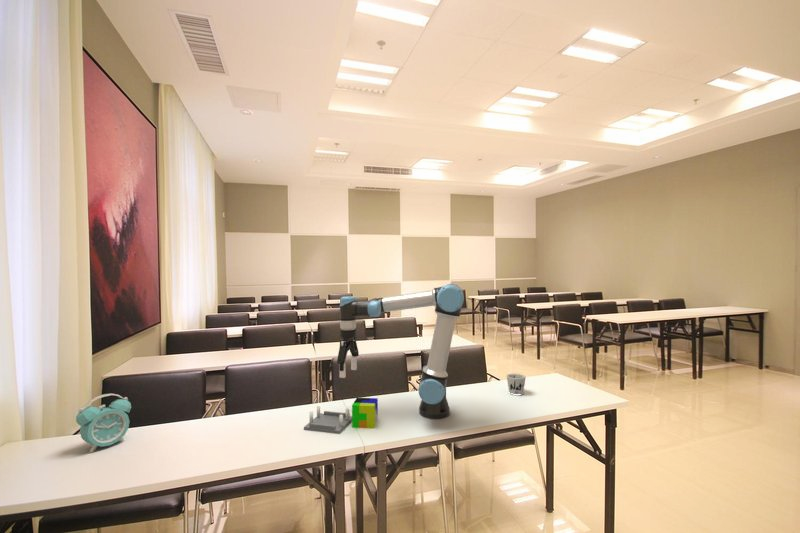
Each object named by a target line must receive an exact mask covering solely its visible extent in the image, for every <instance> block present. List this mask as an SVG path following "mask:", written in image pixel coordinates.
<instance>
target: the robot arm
mask: <svg viewBox="0 0 800 533" xmlns="http://www.w3.org/2000/svg"><path fill="white" fill-rule="evenodd" d="M464 301H465V295H464V291H463V290H462V288H461V287H459V286H458V285H457V284H454V283H448V284H445V285H443V286H439V287H433V288H432V290H427V291H421V292H419V291H418V292H412V293H406V294H397V295H391V296H384V297H378V298H377V297H374V298H372V299H368V300H357V298H356V296H352V295H351V296H342V297H340V298H339V328H340V330H339V332H340V333H339V337H340V338H341V339H342V340H341V341H339V348H338V354H337V361H336V364H338V365H339V370H338V371H339V378H340V379H344V378H347V377H346V375H347V374H346V373H347V372H346V365H347V364H346V358H347V356H348V352H350V355H351V356H350V369H351V371H357V370H358V365H357V364H358V361H357V359H358V358H357V357H359V356H360V355H359V348H358V343H357V329H356V328H357V318H358V317H362V318H363V317H367V318H368V317H371V318H374V317H375V318H376V317H379V316H380V315H381V314H383V313H390V312H396V311H405V310H412V309H418V308H427V307H432V306H433V307H435V308H434V312H435V314H436V318H435V319H436V320H435V325H434V330H433V334H432V340H431V345H430V350H429V354H428V360H427V364H426V365H424V366H423V367H422V373H421V378H420V383H419V385H418V388H417V389H418V395H419V397H420V399H421V400H420V404H419V408H418V412H419V415H420V416H422V417H423V418H426V419H435V420H436V419H444V418H447V417H448V416H450V414H451V412H450V411H451V410H450V406H449V403H448V399H447V382H448V378H449V377H448V376H449V374H448V372H447V366H448V365H447V364H448V360H449V354H450V350H451V344H452V341H453V335H454V330H455V326H456V325H455V324H456V320H457V319H459V318H460V317H461V313H462V308H463V305H464ZM356 317H357V318H356Z"/></svg>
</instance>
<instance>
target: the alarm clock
mask: <svg viewBox="0 0 800 533" xmlns="http://www.w3.org/2000/svg"><path fill="white" fill-rule="evenodd" d="M109 396H116V397H118V399H115V400H114V401H112V402H111V403H110V404H109V405H108V407H106V404H102V405H99V406H98V407H97V406H90V405H91V404H92V403H93V402H95V401H96V400H98V399H102V398H105V397H109ZM131 409H132V403H131V402H130V401H129V399H128V397H127V396H124V397H123V396H121V395H120V394H116V393H104V394H101V395H98V396H95V397H94V398H92V399H91V400H89V401H88V402H87V403H86V404H85V405H84V406H83V407H80V408H79V409H78V411H77V412H78V413H77V414H76V416H75V417H76V418H75V422H76V423H77V425H78V426H80V429H79V434H80V438H81V439H82V440H83V441H84V442H86V444H90V445H92V446H91V448H90V449H89V451H88V453H93V452H95V451H96V449H97V448H98V447H109V446H111V445H113V444H115V443H118V442H120V443H123V442H125V441H126V440H125V439H124V436H126V435H125V434H127V432H128V431H129V427H130V422H131V421H130V418H129V415H128V414H129V413H130V411H131ZM127 413H128V414H127Z"/></svg>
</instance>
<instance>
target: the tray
mask: <svg viewBox="0 0 800 533" xmlns="http://www.w3.org/2000/svg"><path fill="white" fill-rule="evenodd" d="M351 422H352V415H351V416H350V408H345V412H338V411H330V410H324V411H323V413H321V405H317V406H316V416H315V417H314V411H312V410H311V411H309V422H308V423H307V424H305V426H303V430H305V431H311V432H320V433H327V434H328V433H329V434H337V435H340V434H341V433H342V432H343V431H344V430H345V429H347V427H348V426H349V424H351Z"/></svg>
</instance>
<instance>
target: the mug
mask: <svg viewBox="0 0 800 533" xmlns="http://www.w3.org/2000/svg"><path fill="white" fill-rule="evenodd" d="M526 378H527V377H526V375H524V374H521V373H520V374H519V373H507V374H506V380H507V387H508V392H510V393H513V394H523V395H524V392H525V385H526V384H525V383H526ZM510 393H509V394H510Z"/></svg>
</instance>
